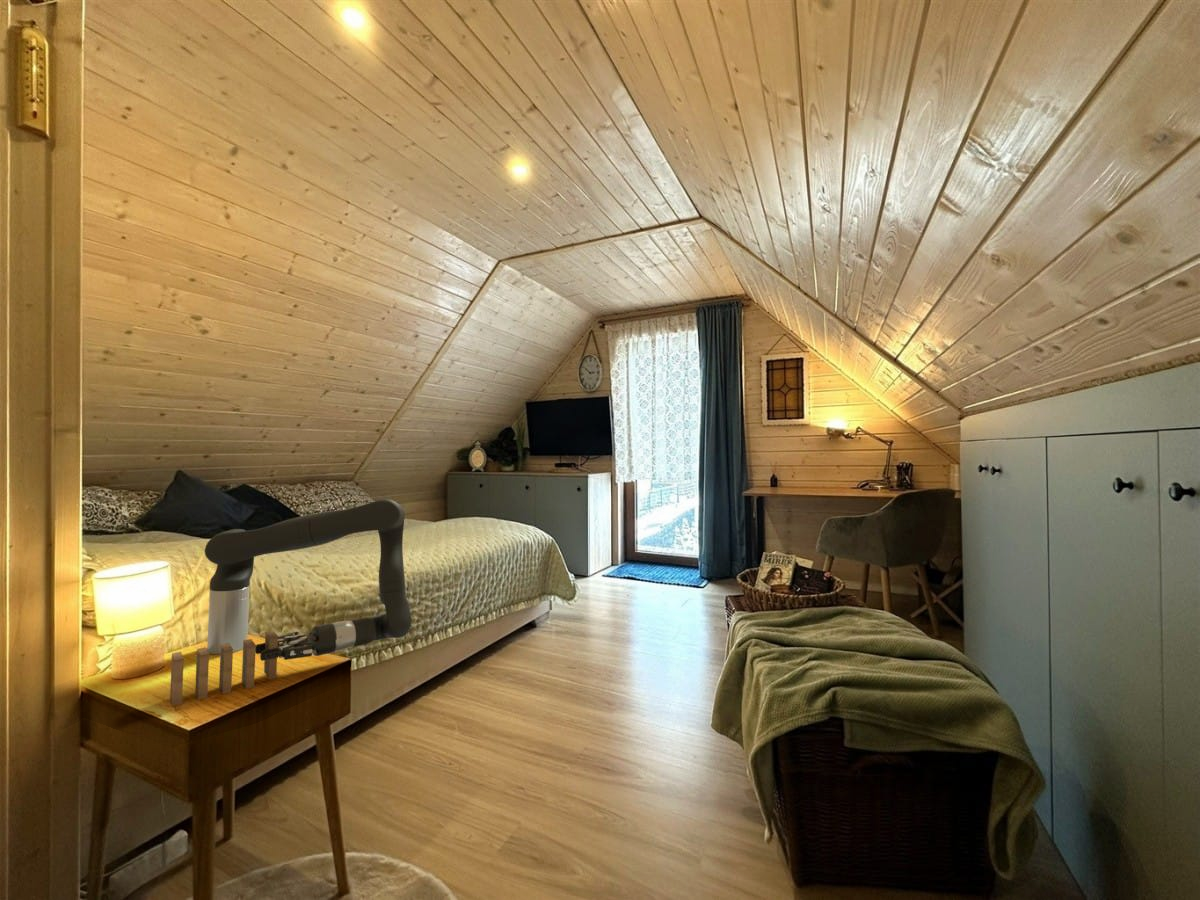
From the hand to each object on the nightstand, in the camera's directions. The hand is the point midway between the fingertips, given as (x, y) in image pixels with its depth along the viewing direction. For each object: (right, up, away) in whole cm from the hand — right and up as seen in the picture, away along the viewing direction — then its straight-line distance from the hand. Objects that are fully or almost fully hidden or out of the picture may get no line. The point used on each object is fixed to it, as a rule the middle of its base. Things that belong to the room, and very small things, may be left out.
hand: (258, 652), depth 128 cm
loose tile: (+2, -6, +2) cm, 7 cm away
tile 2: (-2, -7, -1) cm, 7 cm away
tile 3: (-5, -7, -4) cm, 10 cm away
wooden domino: (-8, -7, -8) cm, 13 cm away
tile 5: (-11, -7, -11) cm, 17 cm away
